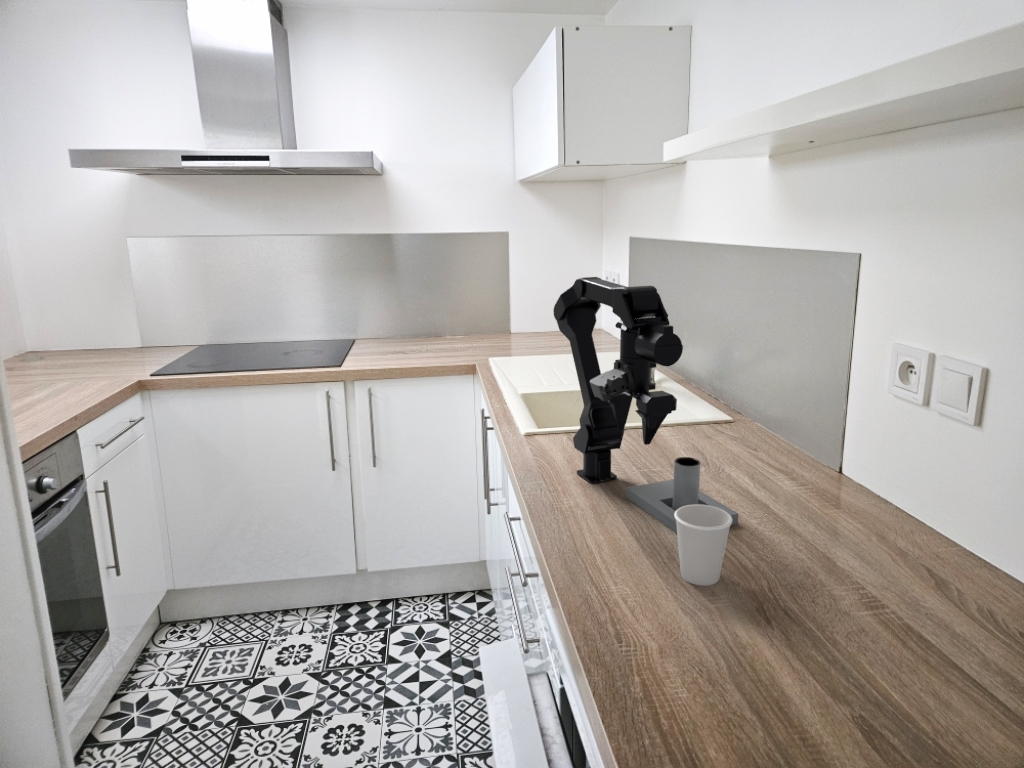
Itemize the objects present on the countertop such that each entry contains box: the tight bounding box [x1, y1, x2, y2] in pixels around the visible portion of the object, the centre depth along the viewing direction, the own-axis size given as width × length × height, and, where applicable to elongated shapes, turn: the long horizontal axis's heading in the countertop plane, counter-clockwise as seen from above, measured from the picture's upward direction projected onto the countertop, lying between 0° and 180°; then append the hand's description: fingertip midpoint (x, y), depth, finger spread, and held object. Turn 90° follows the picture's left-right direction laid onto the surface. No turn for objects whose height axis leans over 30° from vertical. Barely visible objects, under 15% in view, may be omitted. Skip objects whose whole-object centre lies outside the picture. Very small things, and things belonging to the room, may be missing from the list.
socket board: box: [625, 478, 739, 534], centre depth 127 cm, size 18×12×2 cm, turn 22°
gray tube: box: [672, 456, 701, 511], centre depth 124 cm, size 4×4×10 cm
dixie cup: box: [674, 504, 732, 587], centre depth 103 cm, size 8×8×10 cm
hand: (633, 437), depth 128 cm, fingers open, 9 cm apart
